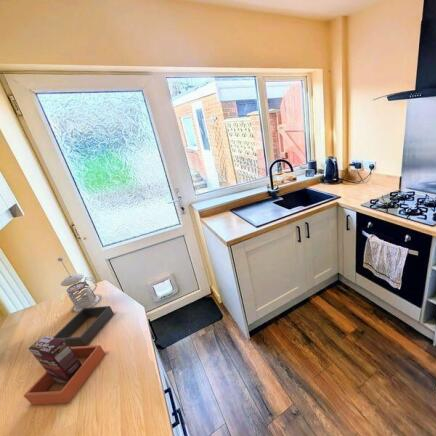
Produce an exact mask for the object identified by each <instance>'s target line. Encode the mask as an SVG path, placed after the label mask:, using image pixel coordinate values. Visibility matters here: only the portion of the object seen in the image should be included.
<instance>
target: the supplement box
mask: <svg viewBox="0 0 436 436" xmlns="http://www.w3.org/2000/svg"><path fill="white" fill-rule="evenodd" d="M28 351H29V352H30V353H31V354H32V355H33V357H34V358H35V359H36V360H37V361H38V362H39V364H40V365H41V366H42V368H43V369H44V370H45V372H46V371H47V372H48V373H49V375H50V376H51V377H52V378H53V379H54V382H57V383H61V384H65V385H66V384H67V383H68V382H69V380H70V379H71V378H72V377H73V375H74V374H75V373H76V372H77V370H78V369H79V368H80V367H81V366H82V364H83V363H82V362H81V360H80V359H79V357H77V356H76V355H75V354H74V352H73V351H72V349H71V348H70V346H69V345H68V344H67V342H66V341H65V340H64V339H57V338H53V337H51V336H47V335H43V336H42V337H41V338H40V339H38V340H37V341H35V342H34V343H33V344H31V345H30V346H29V347H28Z"/></svg>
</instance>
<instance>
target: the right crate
mask: <svg viewBox="0 0 436 436" xmlns="http://www.w3.org/2000/svg"><path fill="white" fill-rule="evenodd" d="M114 315H115V313H114V310H113V309H112V307H111V306H110V305H105V306H104V305H103V306H92V307H89V308H83V309H82V310H81V311H79V312H77V313H76V314H75V315H74V316H73V317H72V318H71V319H70V320H69V321H68V322H67V323H65V325H64V326H62V328H61V329H60V330H59V331H57V333H55V335H54V336H52V338H57V339H64V340H65V341H66V342H67V344H68V345H69V346H70V347H79V346H89V344H90V343H91V342H92V341H93V339H94V338H95V337H96V336H97V335H98V334H99V332H100V331H101V330H102V329H103V328H104V326H105V325H107V324H108V322H109V321H110V320H111V318H112V317H113V316H114ZM93 317H97V318H96V319H94V320H93V322H92V323H91V324H90V325H89V326H88V327H87V329H85V330H84V332H83V333H82V334H81V335H80V336H72V335H73V334H74V333H75V332H76V331H77V330H78V329H79V328H80V327H81V326H82V325H83V324H84V323H85V322H86V320H87V319H89V318H93Z"/></svg>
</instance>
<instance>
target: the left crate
mask: <svg viewBox="0 0 436 436" xmlns="http://www.w3.org/2000/svg"><path fill="white" fill-rule="evenodd" d="M70 348H71V349H72V351H73V352H74V354H75V355H76V356H77V358H86V359H85V360H84V362H83V363H82V366H81V367H80V368H79V369H78V370H77V372H76V373H75V374H74V375H73V377H72V378H71V379H70V380H69V382H68V383H67V384H65V386H64V387H62V388H61V389H60V390H53V391H52V390H50V391H47V390H48V389H49V388H50V387H51V386H52V384H54V382H55V381H54V379H53V378H52V377H51V376H50V375H49V373H48V372H47V371H46V370H45V372H43V374H42V375H41V376H40V377H39V378H38V379H37V380H36V381H35V382H34V383H33V384H32V385H31V386H30V387H29V388H28V389H27V391H26V392H25V393H24V394H23V397H24V398H25V399H26V401H27V402H29V404H31V405H33V406H34V405H49V404H50V405H51V404H52V405H53V404H69V403H70V402H71V400H72V399H73V398H74V397H75V395H76V394H77V393H78V392H79V390H80V388H81V387H82V386H83V385H84V383H85V382H86V380H87V379H88V378H89V377H90V375H91V374H92V372H93V371H94V370H95V369H96V367H97V366H98V364H99V363H100V362H101V361H102V359H103V358H104V357H105V355H106V352H105V351H104V349H103V347H102V346H101V345H100V344H97V345H87V346H79V347H70Z"/></svg>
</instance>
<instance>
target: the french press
mask: <svg viewBox="0 0 436 436" xmlns="http://www.w3.org/2000/svg"><path fill="white" fill-rule="evenodd" d="M56 260H57V261H58V262H61V263H62V265H63V267H64V268H65V270H66V272H67V274H68V275H69V276H67V277H64V279H63V280H62V281H60V286H61V287H67V289H66V292H67V296H68V297H69V299H70V301H71V302H72V304H73V311H74V312H77V313H79V312H80V311H81V310H82V309H83V308H89V307H94V306H95V305H96V304H97V303H99V301H100V297H99V296H98V295H96V294H95V291H96V289H97V287H98V283H97V280H95V279H94V278H93V277H88V276H86V277H84V273H74V274H70V272H69V270H68V269H67V267H66V266H65V264H64V262H63V261H64V257H62V256H60V257H58V258H57V259H56ZM82 279H84V280H83V281H82ZM87 281H91V282H92V283H93V284H94V286H95V287H94V288H93V289H92V288H91V286H90V284H89V283H87Z"/></svg>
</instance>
